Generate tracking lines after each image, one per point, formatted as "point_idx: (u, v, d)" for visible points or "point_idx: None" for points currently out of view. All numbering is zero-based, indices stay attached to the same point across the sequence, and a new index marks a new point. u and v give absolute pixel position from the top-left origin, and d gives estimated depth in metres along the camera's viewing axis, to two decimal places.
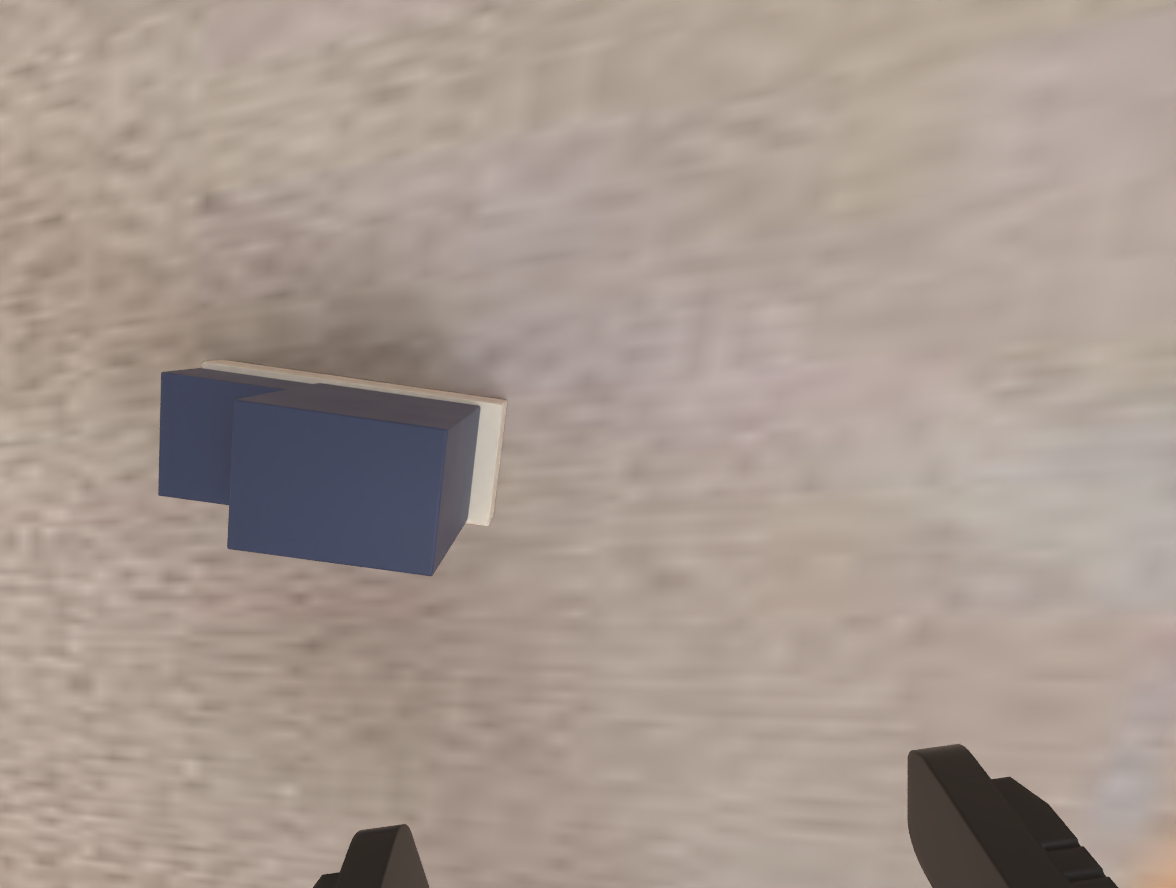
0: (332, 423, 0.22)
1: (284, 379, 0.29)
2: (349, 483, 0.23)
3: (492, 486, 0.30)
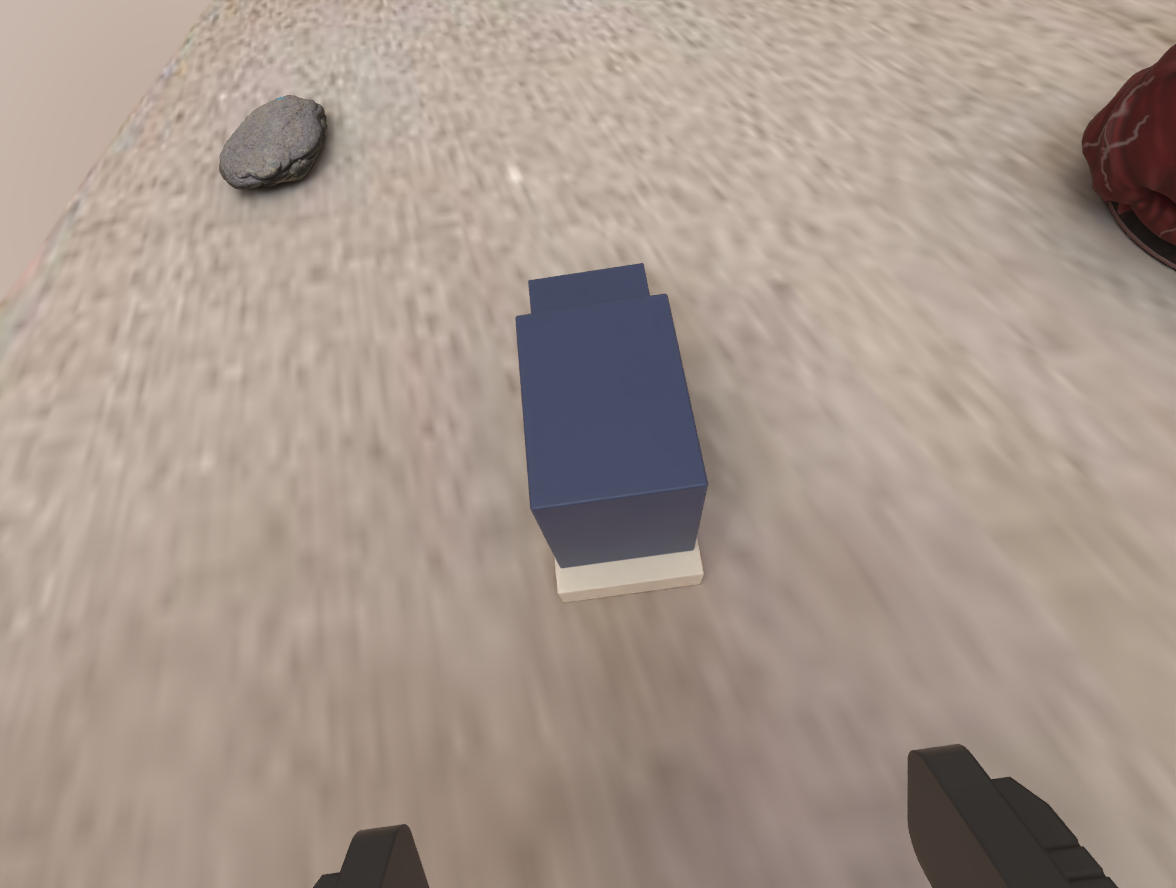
0: (673, 375, 0.21)
1: None
2: (614, 404, 0.21)
3: (605, 586, 0.26)
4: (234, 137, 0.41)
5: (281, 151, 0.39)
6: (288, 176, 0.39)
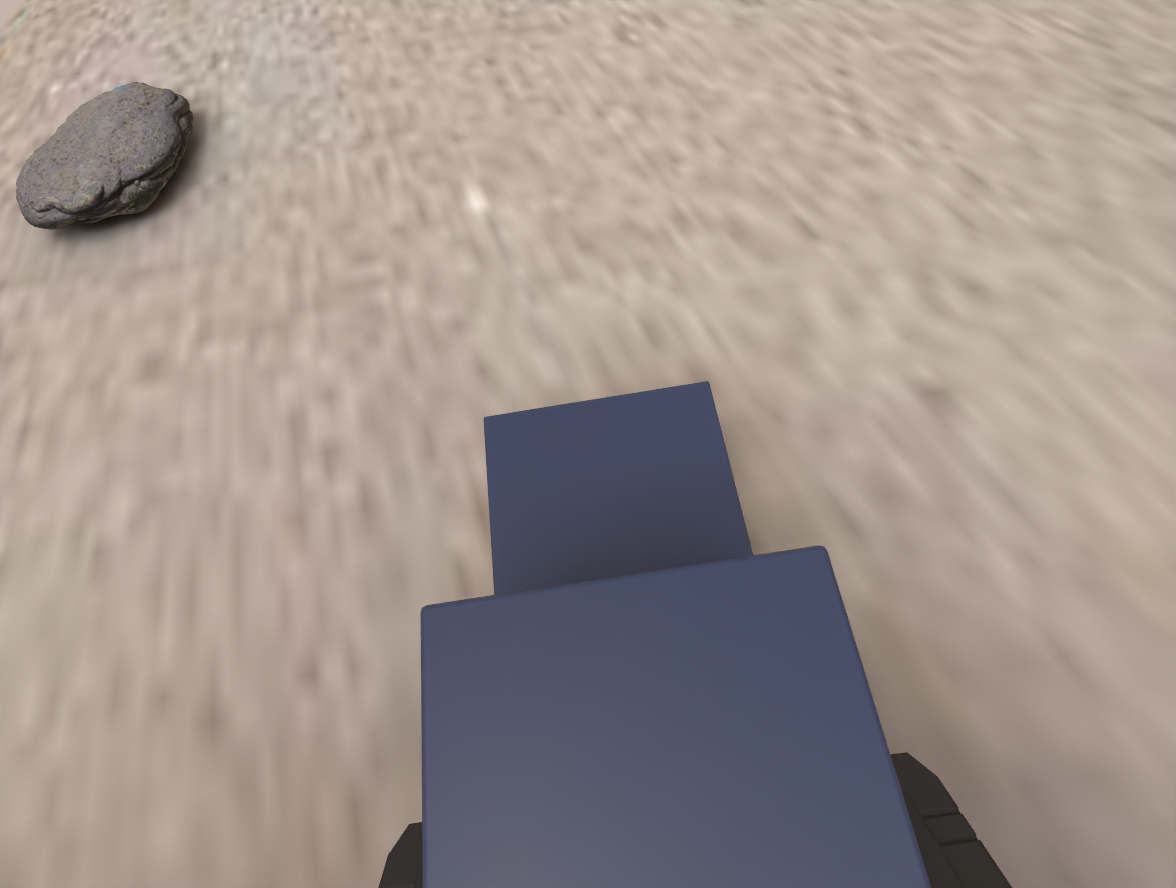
0: (887, 854, 0.07)
1: None
2: None
3: None
4: (43, 147, 0.26)
5: (106, 167, 0.25)
6: (118, 206, 0.25)
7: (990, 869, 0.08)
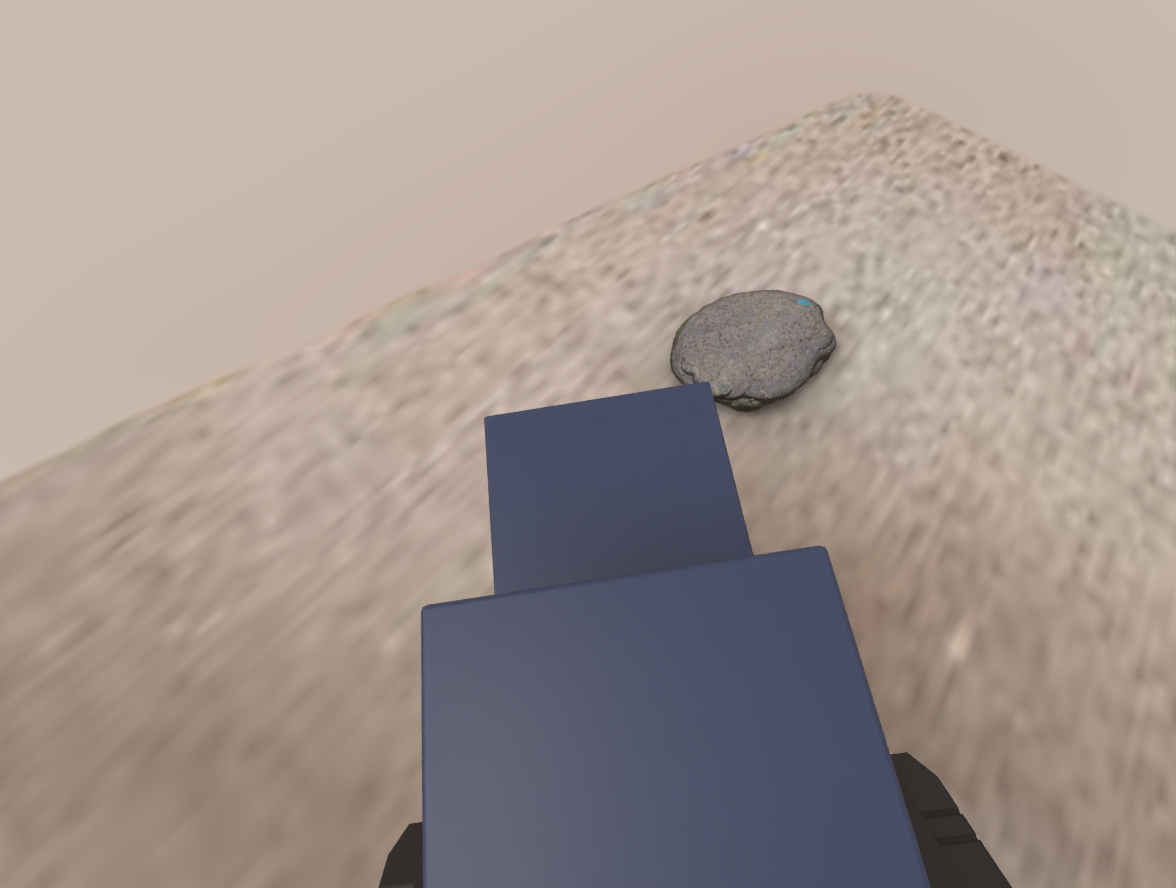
0: (887, 853, 0.07)
1: None
2: None
3: None
4: (721, 309, 0.32)
5: (744, 378, 0.30)
6: (726, 403, 0.30)
7: (990, 868, 0.08)
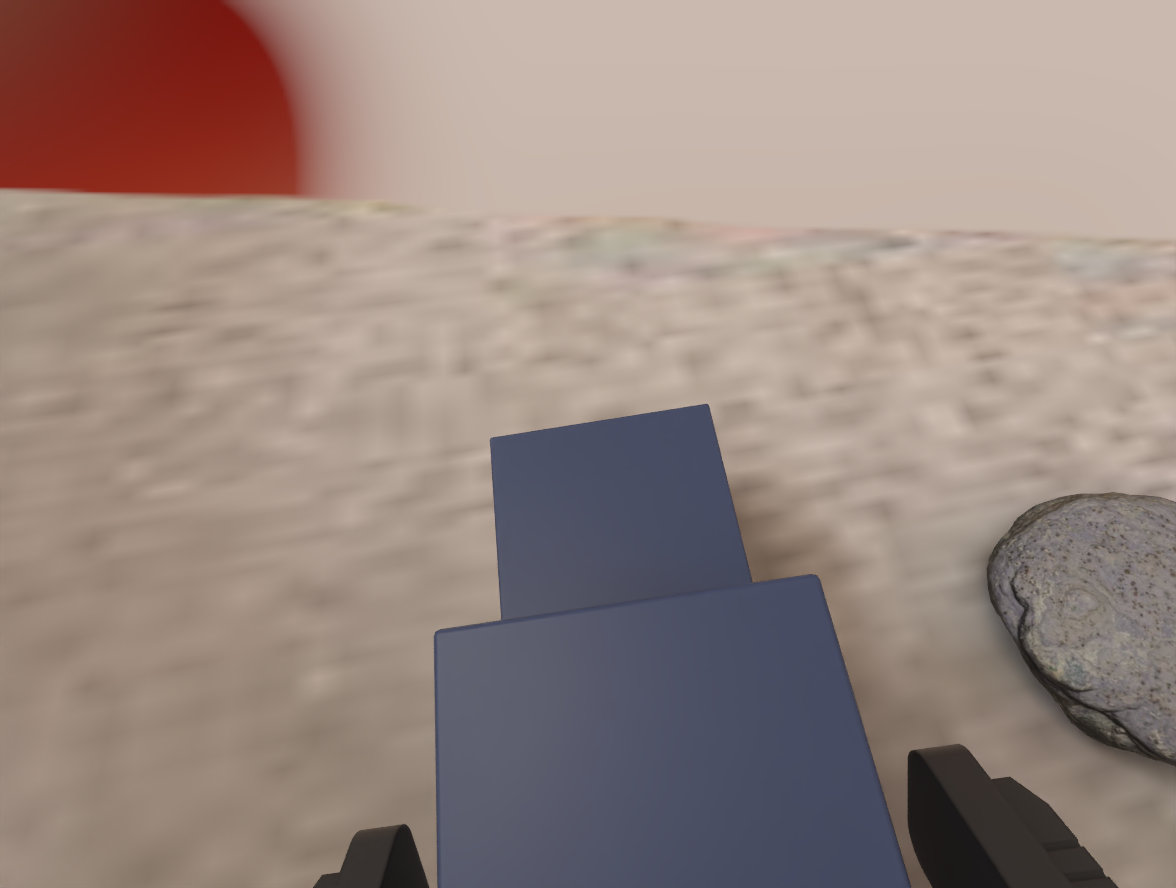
0: (874, 869, 0.07)
1: None
2: None
3: None
4: (1154, 521, 0.16)
5: (1134, 685, 0.14)
6: (1059, 698, 0.15)
7: None
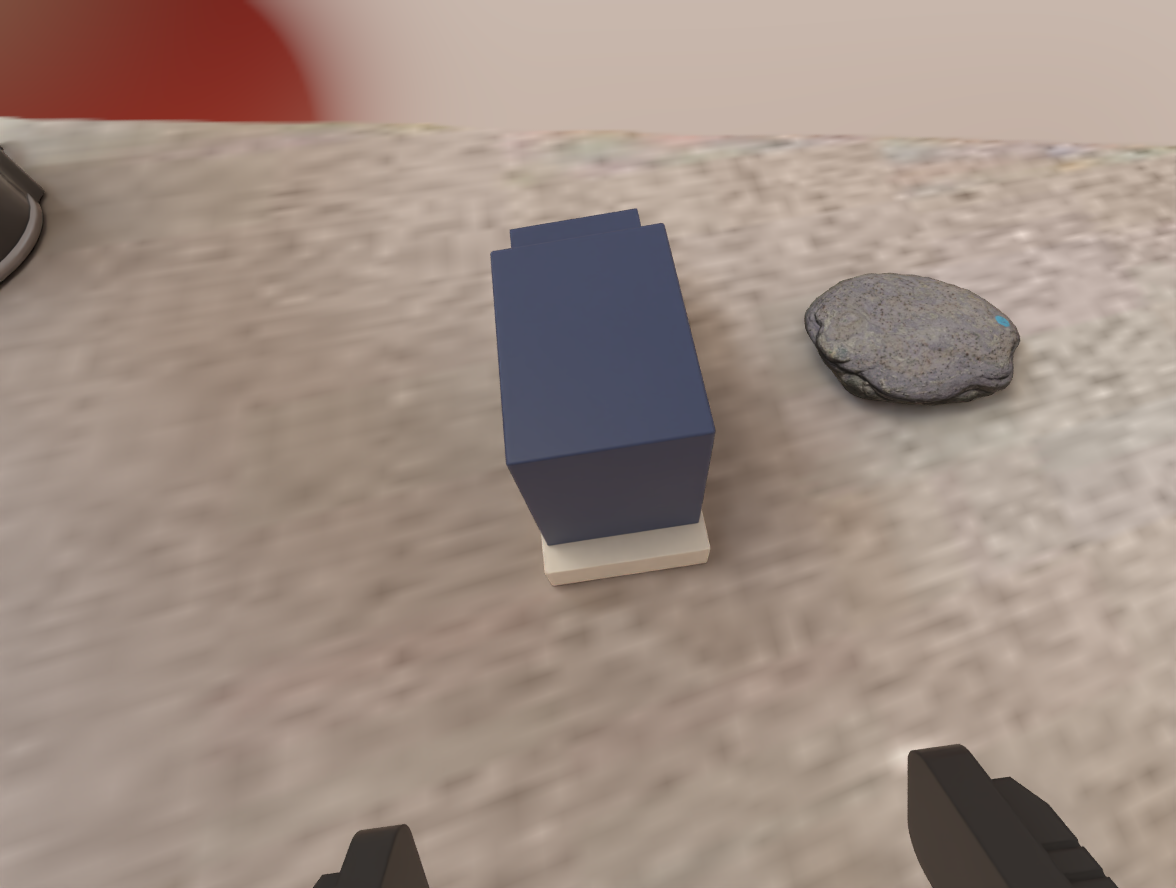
0: (673, 311, 0.18)
1: None
2: (604, 344, 0.18)
3: (599, 565, 0.23)
4: (902, 282, 0.27)
5: (872, 356, 0.25)
6: (837, 373, 0.26)
7: None
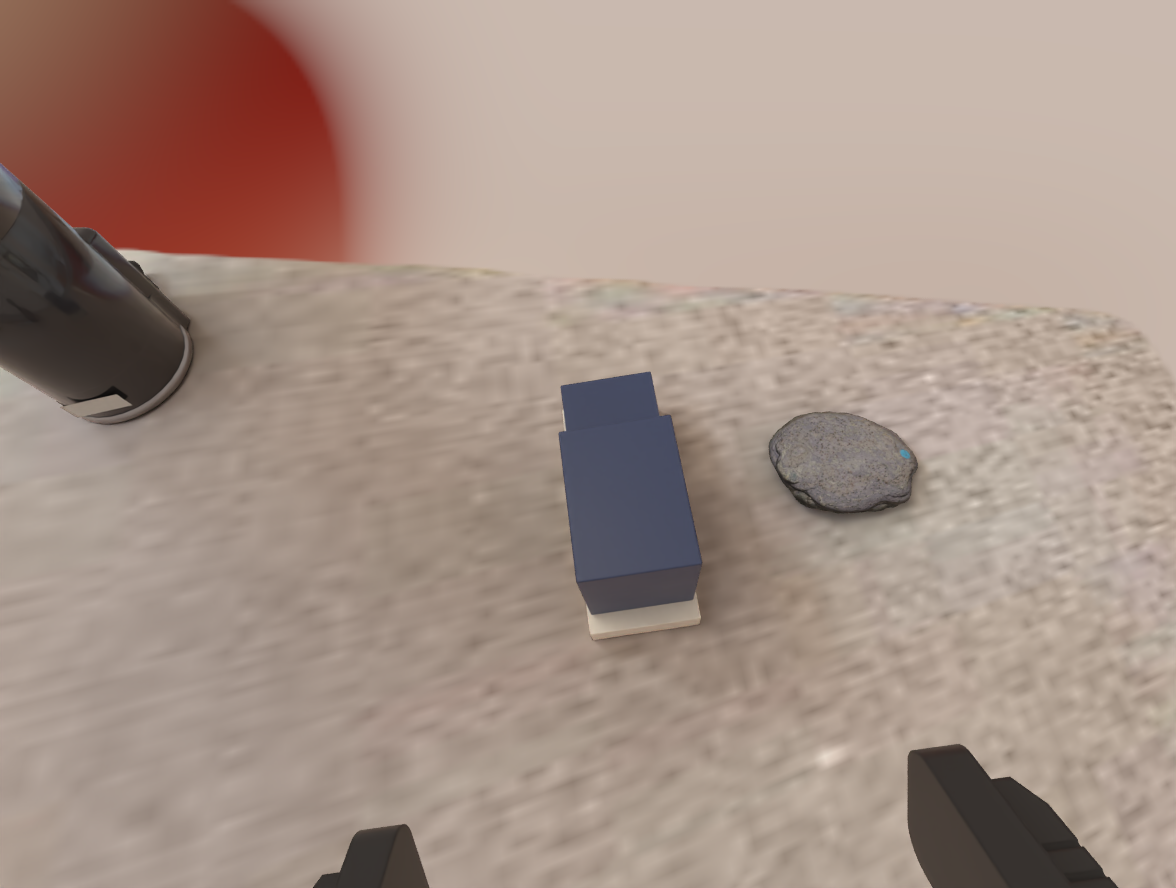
0: (676, 480, 0.29)
1: None
2: (634, 502, 0.29)
3: (626, 629, 0.34)
4: (838, 421, 0.38)
5: (814, 479, 0.36)
6: (790, 489, 0.37)
7: None
